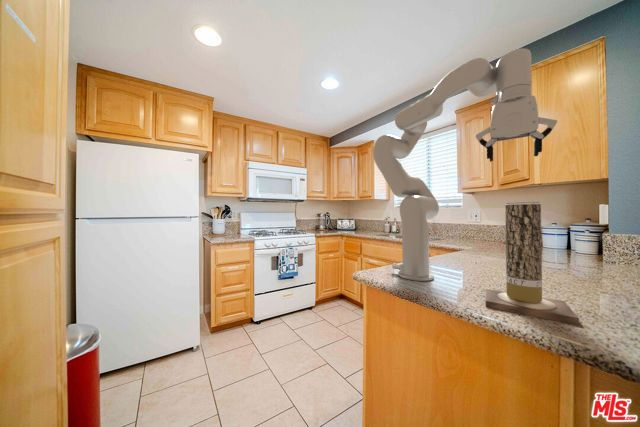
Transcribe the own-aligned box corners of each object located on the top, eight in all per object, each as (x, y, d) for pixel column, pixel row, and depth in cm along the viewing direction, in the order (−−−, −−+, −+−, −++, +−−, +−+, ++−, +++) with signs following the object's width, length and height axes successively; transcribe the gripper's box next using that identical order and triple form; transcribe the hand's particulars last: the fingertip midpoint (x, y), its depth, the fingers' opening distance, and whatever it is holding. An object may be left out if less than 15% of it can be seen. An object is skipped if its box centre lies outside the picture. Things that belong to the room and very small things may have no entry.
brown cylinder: (526, 295, 60) (525, 203, 61) (550, 305, 53) (548, 202, 54) (500, 294, 61) (499, 203, 61) (520, 303, 54) (518, 202, 55)
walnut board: (485, 306, 57) (485, 299, 57) (486, 293, 66) (486, 287, 67) (579, 325, 47) (578, 316, 47) (564, 307, 57) (564, 300, 57)
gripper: (474, 102, 66) (474, 160, 66) (559, 80, 54) (559, 149, 54) (477, 111, 71) (476, 164, 71) (554, 93, 60) (554, 156, 60)
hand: (512, 158), depth 63 cm, fingers open, 9 cm apart
